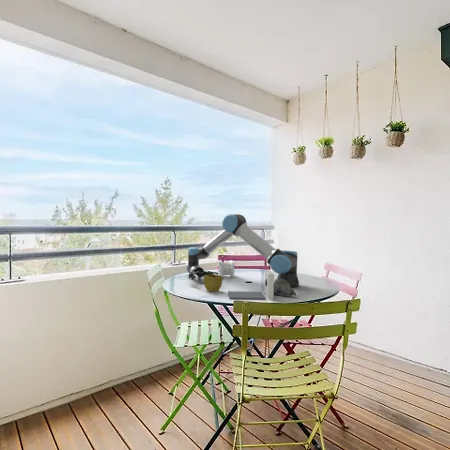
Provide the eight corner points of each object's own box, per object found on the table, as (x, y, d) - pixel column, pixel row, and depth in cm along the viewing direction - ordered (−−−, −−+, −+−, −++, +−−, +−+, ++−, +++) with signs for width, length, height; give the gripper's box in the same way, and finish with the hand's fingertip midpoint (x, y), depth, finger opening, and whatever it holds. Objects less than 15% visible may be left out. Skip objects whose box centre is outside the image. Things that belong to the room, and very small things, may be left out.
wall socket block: (269, 293, 197) (270, 270, 197) (273, 299, 185) (274, 274, 185) (263, 293, 197) (264, 270, 197) (267, 299, 185) (267, 274, 185)
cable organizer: (234, 279, 238) (235, 262, 238) (219, 279, 237) (220, 262, 236) (231, 275, 253) (231, 259, 253) (217, 275, 252) (217, 259, 251)
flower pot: (212, 288, 208) (212, 274, 208) (223, 290, 202) (223, 276, 202) (202, 290, 201) (202, 276, 201) (213, 293, 196) (213, 278, 195)
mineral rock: (297, 298, 190) (298, 280, 189) (281, 299, 185) (282, 281, 185) (284, 292, 202) (285, 276, 201) (269, 294, 197) (269, 277, 197)
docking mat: (261, 293, 198) (261, 291, 198) (265, 299, 184) (265, 297, 184) (228, 292, 197) (228, 291, 197) (229, 299, 183) (229, 297, 183)
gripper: (214, 276, 235) (225, 282, 215) (179, 278, 225) (188, 284, 206) (214, 265, 234) (226, 271, 215) (179, 267, 225) (188, 272, 205)
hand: (207, 277), depth 210 cm, fingers open, 13 cm apart
